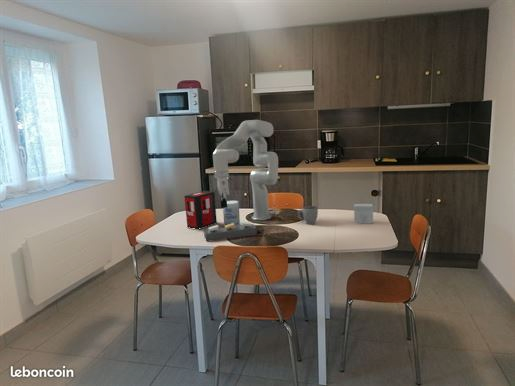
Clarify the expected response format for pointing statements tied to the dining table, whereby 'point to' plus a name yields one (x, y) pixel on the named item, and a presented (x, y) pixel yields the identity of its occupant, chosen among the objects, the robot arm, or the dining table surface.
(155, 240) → the dining table surface
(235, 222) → the supplement tub
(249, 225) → the rocker
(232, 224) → the rocker middle
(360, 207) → the skincare box
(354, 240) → the dining table surface
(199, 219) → the cleaning product box
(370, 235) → the dining table surface
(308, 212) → the mug
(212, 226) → the rocker
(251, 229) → the power strip
